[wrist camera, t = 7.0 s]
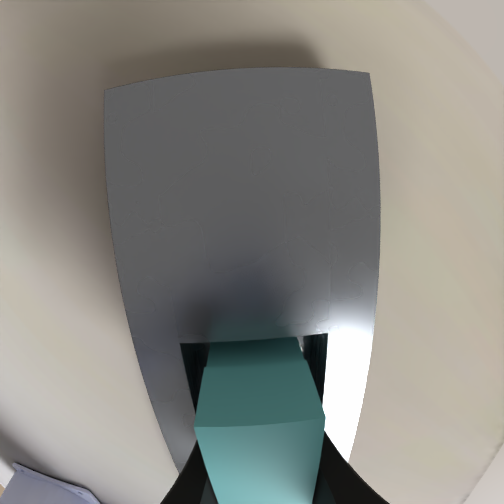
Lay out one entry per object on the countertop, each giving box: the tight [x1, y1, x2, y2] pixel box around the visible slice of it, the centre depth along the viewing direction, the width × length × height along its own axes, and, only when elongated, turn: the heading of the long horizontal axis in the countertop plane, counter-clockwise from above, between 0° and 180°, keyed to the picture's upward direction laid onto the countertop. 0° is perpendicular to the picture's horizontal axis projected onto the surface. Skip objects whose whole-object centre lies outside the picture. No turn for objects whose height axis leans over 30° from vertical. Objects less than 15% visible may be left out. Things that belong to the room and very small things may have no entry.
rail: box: [104, 67, 380, 474], centre depth 11 cm, size 7×24×3 cm, turn 4°
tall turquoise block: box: [194, 336, 326, 504], centre depth 9 cm, size 7×3×5 cm, turn 4°
